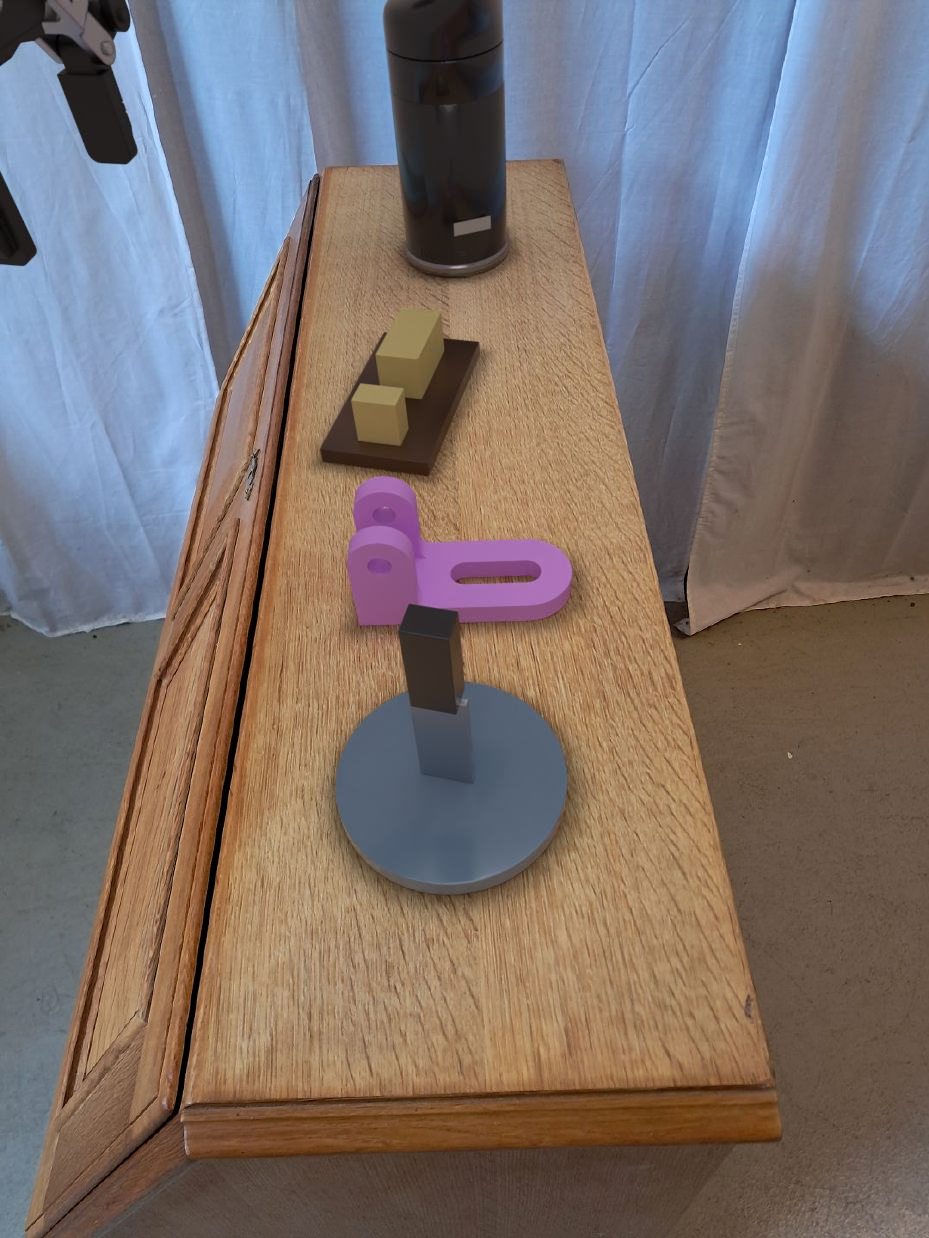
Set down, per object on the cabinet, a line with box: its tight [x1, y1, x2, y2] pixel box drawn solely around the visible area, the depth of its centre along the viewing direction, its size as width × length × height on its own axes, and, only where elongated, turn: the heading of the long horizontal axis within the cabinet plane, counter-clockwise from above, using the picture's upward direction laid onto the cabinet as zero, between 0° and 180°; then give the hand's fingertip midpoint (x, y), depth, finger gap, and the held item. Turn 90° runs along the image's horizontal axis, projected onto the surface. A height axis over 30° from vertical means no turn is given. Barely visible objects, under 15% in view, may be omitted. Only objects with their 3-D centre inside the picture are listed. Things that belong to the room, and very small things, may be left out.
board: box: [319, 331, 481, 477], centre depth 69 cm, size 15×8×1 cm, turn 165°
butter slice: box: [351, 384, 409, 446], centre depth 64 cm, size 2×3×4 cm, turn 76°
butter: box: [376, 306, 444, 399], centre depth 69 cm, size 6×3×4 cm, turn 165°
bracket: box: [346, 475, 573, 627], centre depth 55 cm, size 13×6×7 cm, turn 89°
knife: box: [397, 604, 475, 784], centre depth 43 cm, size 2×3×12 cm, turn 75°
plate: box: [334, 681, 569, 896], centre depth 48 cm, size 12×12×1 cm
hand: (68, 207), depth 39 cm, fingers open, 8 cm apart
